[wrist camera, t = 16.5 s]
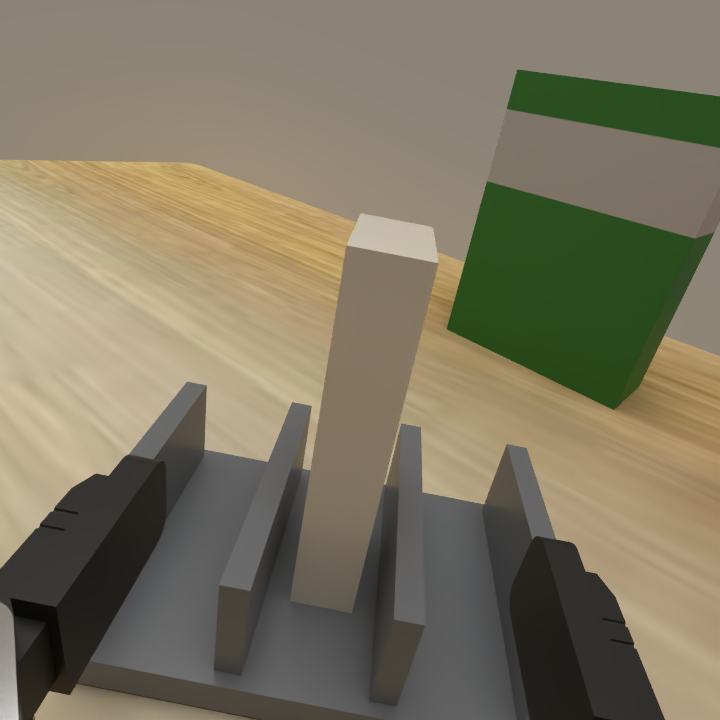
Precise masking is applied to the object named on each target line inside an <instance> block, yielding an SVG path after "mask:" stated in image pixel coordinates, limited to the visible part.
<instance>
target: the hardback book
mask: <svg viewBox="0 0 720 720" xmlns="http://www.w3.org/2000/svg"><path fill="white" fill-rule="evenodd" d="M719 222H720V96H712V95H704V94H697V93H689V92H682V91H674V90H667V89H659V88H652V87H644V86H637V85H629V84H622V83H614V82H607V81H599V80H591V79H584V78H576V77H569V76H562V75H553V74H547V73H539V72H531V71H524V70H517V74H516V77H515V81H514V84H513V88H512V91H511V95H510V99H509V103H508V106H507V110H506V114H505V118H504V121H503V125H502V128H501V132H500V136H499V139H498V143H497V147H496V150H495V154H494V158H493V162H492V165H491V169H490V173H489V176H488V180H487V183H486V187H485V191H484V194H483V198H482V202H481V205H480V209H479V213H478V217H477V220H476V224H475V228H474V231H473V235H472V239H471V242H470V246H469V250H468V253H467V257H466V261H465V264H464V268H463V272H462V275H461V279H460V283H459V286H458V290H457V294H456V297H455V301H454V305H453V308H452V312H451V316H450V319H449V323H448V327H447V329H448V330H450V331H452V332H454V333H456V334H458V335H460V336H462V337H464V338H466V339H468V340H470V341H472V342H474V343H477V344H479V345H481V346H483V347H485V348H487V349H489V350H491V351H493V352H495V353H497V354H499V355H501V356H503V357H506V358H508V359H510V360H512V361H514V362H516V363H518V364H520V365H522V366H524V367H526V368H528V369H530V370H532V371H534V372H537V373H539V374H541V375H543V376H545V377H547V378H549V379H551V380H553V381H555V382H557V383H559V384H561V385H563V386H565V387H568V388H570V389H572V390H574V391H576V392H578V393H580V394H582V395H584V396H586V397H588V398H590V399H592V400H594V401H596V402H599V403H601V404H603V405H605V406H607V407H609V408H611V409H613V410H614V409H615V408H616V407H618V406H619V405H620V404H621V403H622V402H623V401H624V400H625V399H626V398H627V397H628V396H629V395H630V394H631V393H633V392H634V391H635V390H636V389H637V388H638V387H639V386H640V384H641V382H642V380H643V377H644V375H645V373H646V371H647V369H648V367H649V365H650V363H651V361H652V359H653V357H654V355H655V353H656V351H657V349H658V347H659V345H660V343H661V341H662V339H663V337H664V334H665V333H666V330H667V328H668V326H669V324H670V322H671V320H672V318H673V316H674V314H675V312H676V310H677V308H678V306H679V304H680V302H681V300H682V298H683V296H684V293H685V292H686V290H687V287H688V285H689V283H690V281H691V279H692V277H693V275H694V273H695V271H696V269H697V267H698V265H699V263H700V261H701V259H702V257H703V255H704V253H705V251H706V249H707V246H708V245H709V243H710V241H711V238H712V236H713V234H714V232H715V230H716V228H717V226H718V224H719Z"/></svg>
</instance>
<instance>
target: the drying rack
mask: <svg viewBox="0 0 720 720" xmlns="http://www.w3.org/2000/svg"><path fill="white" fill-rule="evenodd" d="M206 390H207V386H206V385H201V384H196V383H191V382H187V383H186V384H185V385H184V386H183V388H182V389H181V390H180V391H179V393H178V394H177V395H176V396H175V398H174V399H173V400H172V401H171V403H170V404H169V405H168V406H167V408H166V409H165V410H164V411H163V413H162V414H161V415H160V416H159V418H158V419H157V420H156V421H155V423H154V424H153V425H152V426H151V428H150V429H149V430H148V431H147V433H146V434H145V435H144V436H143V438H142V439H141V440H140V441H139V443H138V444H137V445H136V446H135V448H134V449H133V450H132V451H131V453H130V454H129V455H135V456H140V457H146V458H151V459H156V460H161V461H164V462H165V464H166V521H165V525H164V529H163V532H162V535H161V537H160V539H159V542H158V543H157V545H156V547H155V549H154V550H153V552H152V554H151V556H150V557H149V559H148V561H147V563H146V564H145V566H144V568H143V569H142V571H141V573H140V575H139V576H138V578H137V580H136V582H135V583H134V585H133V587H132V589H131V590H130V592H129V594H128V595H127V597H126V599H125V601H124V602H123V604H122V606H121V608H120V609H119V611H118V613H117V614H116V616H115V618H114V620H113V621H112V623H111V625H110V627H109V628H108V630H107V632H106V634H105V635H104V637H103V639H102V640H101V642H100V644H99V646H98V647H97V649H96V651H95V653H94V654H93V656H92V658H91V659H90V661H89V663H88V665H87V666H86V668H85V670H84V672H83V673H82V675H81V677H80V679H79V680H78V682H77V683H79V684H84V685H89V686H94V687H99V688H104V689H109V690H114V691H119V692H124V693H129V694H134V695H140V696H145V697H150V698H155V699H160V700H165V701H170V702H175V703H180V704H185V705H190V706H195V707H200V708H205V709H210V710H215V711H220V712H225V713H230V714H235V715H240V716H245V717H250V718H255V719H260V720H530V718H529V713H528V708H527V702H526V697H525V692H524V686H523V681H522V675H521V670H520V665H519V659H518V654H517V649H516V643H515V638H514V633H513V627H512V622H511V617H510V606H509V603H510V592H511V587H512V584H513V581H514V579H515V577H516V575H517V572H518V570H519V568H520V566H521V564H522V561H523V559H524V557H525V555H526V552H527V550H528V548H529V546H530V544H531V542H532V540H533V538H534V537H536V536H540V537H545V538H550V539H556V538H555V535H554V532H553V529H552V526H551V523H550V519H549V516H548V513H547V510H546V507H545V504H544V501H543V498H542V495H541V492H540V489H539V485H538V482H537V479H536V476H535V473H534V470H533V467H532V464H531V461H530V458H529V455H528V451H527V448H523V447H518V446H513V445H508V444H507V445H506V448H505V451H504V453H503V456H502V459H501V461H500V464H499V467H498V469H497V472H496V475H495V477H494V480H493V483H492V485H491V488H490V491H489V493H488V496H487V499H486V501H485V504H478V503H473V502H468V501H463V500H458V499H453V498H448V497H443V496H438V495H433V494H428V493H422V455H421V427H416V426H411V425H406V424H401V427H400V431H399V435H398V439H397V443H396V447H395V451H394V455H393V459H392V463H391V467H390V471H389V475H388V479H387V483H386V485H383V489H382V493H381V498H380V502H379V506H378V510H377V514H376V518H375V522H374V526H373V530H372V534H371V538H370V542H369V546H368V550H367V554H366V558H365V562H364V566H363V570H362V574H361V578H360V582H359V586H358V590H357V594H356V598H355V603H354V607H353V611H352V613H347V612H342V611H337V610H332V609H327V608H322V607H317V606H312V605H307V604H301V603H296V602H291V601H290V596H291V590H292V584H293V577H294V571H295V565H296V559H297V552H298V546H299V540H300V534H301V527H302V521H303V515H304V508H305V502H306V496H307V490H308V483H309V477H310V470H305V469H302V467H303V461H304V454H305V447H306V441H307V434H308V427H309V421H310V414H311V407H312V406H309V405H304V404H298V403H293V402H292V404H291V407H290V409H289V412H288V414H287V417H286V419H285V422H284V424H283V427H282V429H281V432H280V434H279V437H278V439H277V442H276V444H275V447H274V449H273V452H272V454H271V457H270V459H269V462H264V461H259V460H254V459H249V458H244V457H239V456H234V455H229V454H224V453H219V452H213V451H208V450H204V444H205V417H206Z"/></svg>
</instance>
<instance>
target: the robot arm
mask: <svg viewBox="0 0 720 720" xmlns="http://www.w3.org/2000/svg"><path fill="white" fill-rule="evenodd" d="M165 521H166V464H165V462H164V461H161V460H156V459H151V458H146V457H140V456H135V455H126V456H125V457H124V458H123V459H122V460H121V461H120V463H119V464H118V465H117V466H116V468H115V469H114V470H113V471H112V473H111V474H110V475H109V476H106V475H100V474H94V475H93V476H91V477H89V478H88V479H86V480H85V481H83V482H81V483H80V484H78V485H76V486H75V487H73V488H71V489H70V491H69V492H68V493H67V494H66V495H65V496H64V497H63V499H62V500H61V501H60V502H59V503H58V504H57V505H56V507H55V508H54V511H53V512H50V513H49V514H48V516H47V517H46V518H45V519H44V520H43V521H42V522H41V524H40V527H39V528H36V529H35V530H34V532H33V533H32V534H31V535H30V536H29V537H28V538H27V539H26V541H25V542H24V543H23V544H22V545H21V546H20V547H19V549H18V550H17V551H16V552H15V553H14V554H13V555H12V556H11V558H10V559H9V560H8V561H7V562H6V563H5V564H4V566H3V567H2V568H1V569H0V720H35V717H34V714H35V713H36V711H37V709H38V708H39V706H40V705H41V703H42V701H43V700H44V698H45V697H46V695H47V693H48V692H49V691H53V692H58V693H63V694H68V695H70V694H71V692H72V691H73V689H74V687H75V685H76V684H77V682H78V680H79V679H80V677H81V675H82V673H83V672H84V670H85V668H86V666H87V665H88V663H89V661H90V659H91V658H92V656H93V654H94V653H95V651H96V649H97V647H98V646H99V644H100V642H101V640H102V639H103V637H104V635H105V634H106V632H107V630H108V628H109V627H110V625H111V623H112V621H113V620H114V618H115V616H116V614H117V613H118V611H119V609H120V608H121V606H122V604H123V602H124V601H125V599H126V597H127V595H128V594H129V592H130V590H131V589H132V587H133V585H134V583H135V582H136V580H137V578H138V576H139V575H140V573H141V571H142V569H143V568H144V566H145V564H146V563H147V561H148V559H149V557H150V556H151V554H152V552H153V550H154V549H155V547H156V545H157V543H158V542H159V539H160V537H161V535H162V532H163V529H164V525H165ZM509 606H510V617H511V622H512V627H513V633H514V638H515V643H516V649H517V654H518V659H519V665H520V670H521V675H522V681H523V686H524V692H525V697H526V702H527V708H528V713H529V718H530V720H665V719H664V716H663V714H662V711H661V709H660V706H659V704H658V701H657V699H656V696H655V694H654V691H653V689H652V686H651V684H650V682H649V679H648V677H647V674H646V672H645V669H644V667H643V664H642V662H641V659H640V657H639V654H638V652H637V649H634V642H633V640H632V637H631V635H630V632H629V630H628V627H625V623H626V622H625V620H624V617H623V615H622V612H621V610H620V607H619V605H618V602H617V600H616V597H615V596H614V595H613V594H612V592H611V591H610V590H609V589H608V587H607V586H606V585H605V583H604V582H603V581H602V580H601V578H600V577H599V576H598V575H597V574H596V573H590V572H585V569H584V566H583V563H582V561H581V558H580V555H579V552H578V550H577V548H576V546H575V545H574V544H573V543H571V542H566V541H561V540H556V539H550V538H545V537H540V536H536V537H534V538H533V540H532V542H531V544H530V546H529V548H528V550H527V552H526V555H525V557H524V559H523V561H522V564H521V566H520V568H519V570H518V572H517V575H516V577H515V579H514V581H513V584H512V587H511V592H510V603H509Z"/></svg>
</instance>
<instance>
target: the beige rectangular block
mask: <svg viewBox="0 0 720 720" xmlns="http://www.w3.org/2000/svg"><path fill="white" fill-rule="evenodd" d="M437 267H438V257H437V250H436V244H435V239H434V231H433V227H429V226H423V225H418V224H413V223H408V222H403V221H398V220H393V219H387V218H382V217H377V216H372V215H367V214H360V217H359V219H358V221H357V223H356V226H355V228H354V230H353V232H352V234H351V237H350V239H349V241H348V243H347V246H346V252H345V258H344V264H343V271H342V277H341V283H340V289H339V296H338V302H337V308H336V314H335V321H334V327H333V333H332V339H331V346H330V352H329V358H328V365H327V371H326V377H325V383H324V390H323V396H322V402H321V408H320V415H319V421H318V427H317V433H316V440H315V446H314V452H313V458H312V465H311V471H310V477H309V483H308V490H307V496H306V502H305V508H304V515H303V521H302V527H301V534H300V540H299V546H298V552H297V559H296V565H295V571H294V577H293V584H292V590H291V596H290V601H291V602H296V603H301V604H307V605H312V606H317V607H322V608H327V609H332V610H337V611H342V612H347V613H352V611H353V607H354V603H355V598H356V594H357V590H358V586H359V582H360V578H361V574H362V570H363V566H364V562H365V558H366V554H367V550H368V546H369V542H370V538H371V534H372V530H373V526H374V522H375V518H376V514H377V510H378V506H379V502H380V498H381V493H382V489H383V485H384V481H385V477H386V473H387V469H388V465H389V461H390V457H391V453H392V449H393V445H394V441H395V437H396V433H397V429H398V425H399V421H400V417H401V413H402V409H403V405H404V401H405V397H406V392H407V388H408V384H409V380H410V376H411V372H412V368H413V364H414V360H415V356H416V352H417V348H418V344H419V340H420V336H421V332H422V328H423V324H424V320H425V316H426V312H427V308H428V304H429V300H430V296H431V292H432V287H433V283H434V279H435V275H436V271H437Z"/></svg>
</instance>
